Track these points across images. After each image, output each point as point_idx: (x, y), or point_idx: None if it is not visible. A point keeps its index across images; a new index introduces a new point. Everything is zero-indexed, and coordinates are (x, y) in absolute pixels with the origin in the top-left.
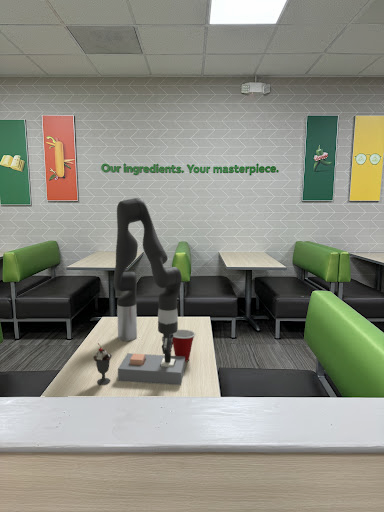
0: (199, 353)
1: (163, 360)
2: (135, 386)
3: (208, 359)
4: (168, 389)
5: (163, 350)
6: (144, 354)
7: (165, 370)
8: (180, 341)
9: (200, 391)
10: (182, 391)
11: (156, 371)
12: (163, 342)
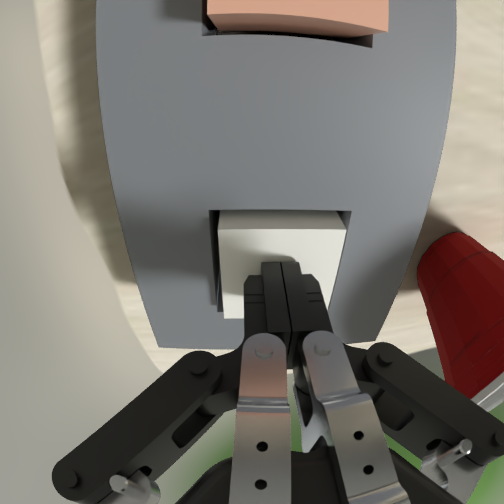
0: None
1: (299, 240)
2: (91, 41)
3: (407, 348)
4: (114, 240)
5: (115, 425)
6: (384, 23)
7: (151, 267)
8: (464, 375)
9: (152, 349)
10: (124, 298)
11: (117, 202)
12: (230, 500)
